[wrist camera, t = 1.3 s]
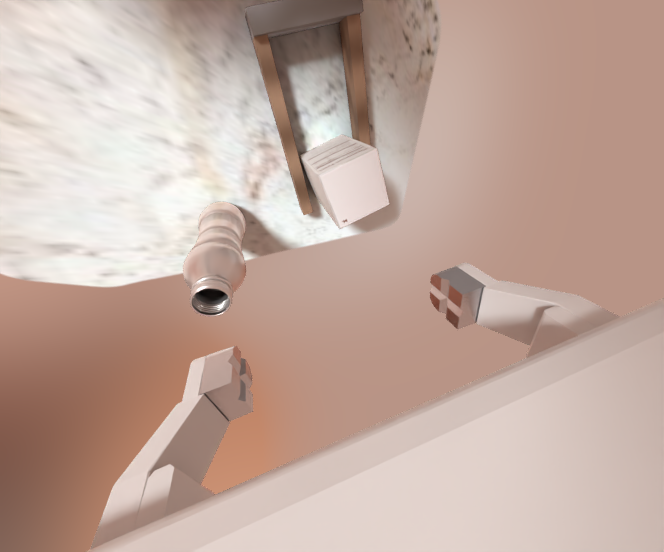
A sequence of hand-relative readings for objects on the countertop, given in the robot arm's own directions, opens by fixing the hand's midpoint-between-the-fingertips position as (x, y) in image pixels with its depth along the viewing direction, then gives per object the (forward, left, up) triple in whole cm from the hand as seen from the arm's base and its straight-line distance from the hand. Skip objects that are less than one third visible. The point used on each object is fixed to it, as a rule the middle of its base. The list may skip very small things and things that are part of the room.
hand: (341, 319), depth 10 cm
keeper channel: (-2, +8, -33) cm, 34 cm away
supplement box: (+4, +8, -33) cm, 35 cm away
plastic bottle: (+7, -10, -33) cm, 35 cm away
